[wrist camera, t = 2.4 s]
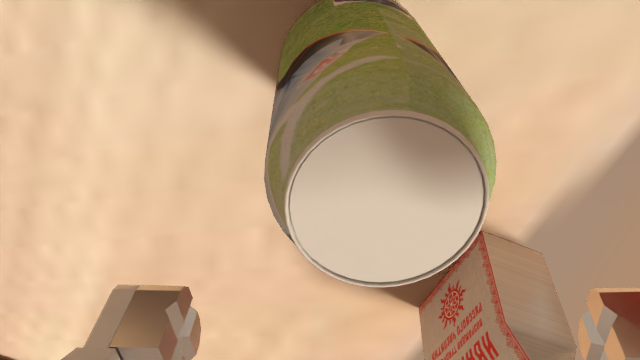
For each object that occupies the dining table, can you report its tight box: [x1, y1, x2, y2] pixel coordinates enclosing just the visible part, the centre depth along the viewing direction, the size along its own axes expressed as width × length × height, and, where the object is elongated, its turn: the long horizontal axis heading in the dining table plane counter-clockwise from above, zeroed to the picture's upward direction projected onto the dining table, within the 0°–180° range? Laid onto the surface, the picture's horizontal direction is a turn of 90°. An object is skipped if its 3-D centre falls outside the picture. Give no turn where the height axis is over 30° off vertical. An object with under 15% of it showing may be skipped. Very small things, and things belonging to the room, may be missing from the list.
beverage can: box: [264, 0, 496, 287], centre depth 18 cm, size 6×7×12 cm
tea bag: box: [419, 231, 577, 360], centre depth 27 cm, size 4×7×10 cm, turn 157°
